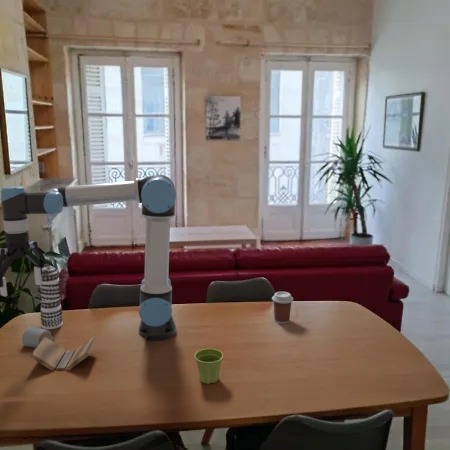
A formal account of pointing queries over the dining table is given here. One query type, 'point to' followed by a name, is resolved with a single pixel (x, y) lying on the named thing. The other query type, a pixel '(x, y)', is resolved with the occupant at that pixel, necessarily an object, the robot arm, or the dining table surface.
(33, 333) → the ceramic mug
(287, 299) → the coffee cup
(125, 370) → the dining table surface
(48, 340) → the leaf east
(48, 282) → the decorative candle
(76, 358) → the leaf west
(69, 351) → the centre strip
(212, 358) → the plant pot
